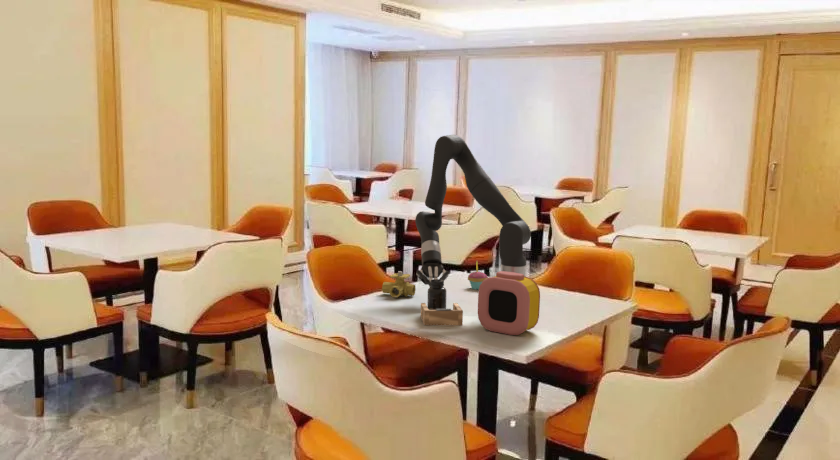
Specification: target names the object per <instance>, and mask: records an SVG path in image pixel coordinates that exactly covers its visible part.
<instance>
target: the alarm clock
mask: <svg viewBox="0 0 840 460" xmlns="http://www.w3.org/2000/svg"><path fill="white" fill-rule="evenodd" d="M540 291H541V290H540V287H539V286H538V284H537V282H536V281H535V280H533V279H532V278H531V277H527V275H526V276H524V274H520V273H514V272H505V271H501V270H500V271H497V272H496V274H495V276H490V277H489V276H488V278H487V279H485V280H484V281H483V282H482V283H481V285H480V287H479V289H478V293H477V294H478V295H477V319H478V321H479V323H480V325H481V326H482V327H483V328H484V329H486V330H488V331H490V332H492V333H494V332H495V333H498V334H499V333H500V334H504V335H505V334H506V335H510V336H520V335H521V334H523V333H524V332H526V331H529V330H531V329H534V328H535V327H536V325H537V324H538V322H539V319H540V307H541V306H540V305H541V292H540Z"/></svg>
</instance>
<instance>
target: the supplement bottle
mask: <svg viewBox="0 0 840 460" xmlns="http://www.w3.org/2000/svg"><path fill="white" fill-rule="evenodd" d="M430 285H431V287H429V288H428V289H427V305H426V306H427V307H428V309H429V310H436V309H447V289H446V287H444V286H445V280H440V278H438V279H434V278H433V280H431V284H430Z"/></svg>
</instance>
